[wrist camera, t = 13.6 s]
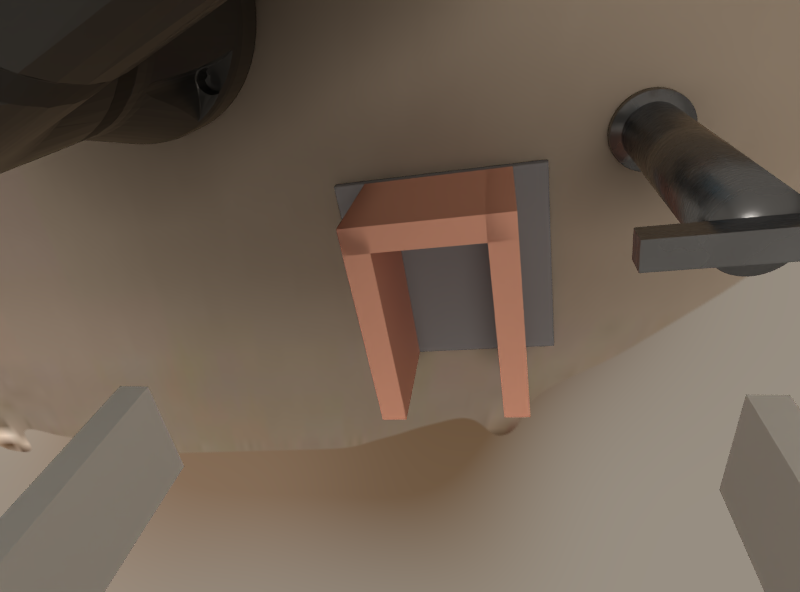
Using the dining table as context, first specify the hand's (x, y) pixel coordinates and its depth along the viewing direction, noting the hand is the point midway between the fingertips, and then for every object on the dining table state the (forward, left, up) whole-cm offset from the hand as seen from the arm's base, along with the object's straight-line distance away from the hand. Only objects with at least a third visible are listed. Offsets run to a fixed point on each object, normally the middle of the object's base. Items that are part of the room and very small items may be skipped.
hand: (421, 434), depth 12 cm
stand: (+10, 0, -23) cm, 25 cm away
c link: (-2, -7, -22) cm, 24 cm away
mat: (-2, -8, -23) cm, 24 cm away
